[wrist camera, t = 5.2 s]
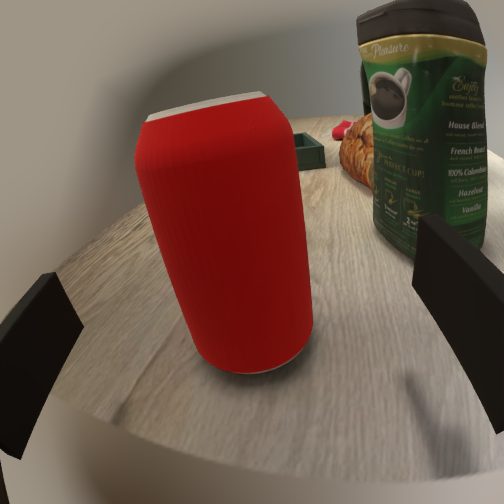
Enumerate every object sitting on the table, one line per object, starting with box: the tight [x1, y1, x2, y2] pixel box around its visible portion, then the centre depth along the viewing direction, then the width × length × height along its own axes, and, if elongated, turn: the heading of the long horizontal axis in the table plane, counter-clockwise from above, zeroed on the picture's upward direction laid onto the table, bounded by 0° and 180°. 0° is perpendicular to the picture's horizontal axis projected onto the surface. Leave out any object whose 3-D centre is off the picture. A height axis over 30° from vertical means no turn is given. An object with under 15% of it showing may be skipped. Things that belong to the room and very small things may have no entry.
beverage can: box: [135, 91, 313, 374], centre depth 14 cm, size 6×6×12 cm
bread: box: [339, 112, 374, 190], centre depth 36 cm, size 20×18×10 cm
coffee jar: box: [356, 0, 488, 260], centre depth 18 cm, size 10×8×19 cm
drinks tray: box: [293, 133, 326, 171], centre depth 51 cm, size 18×16×3 cm
